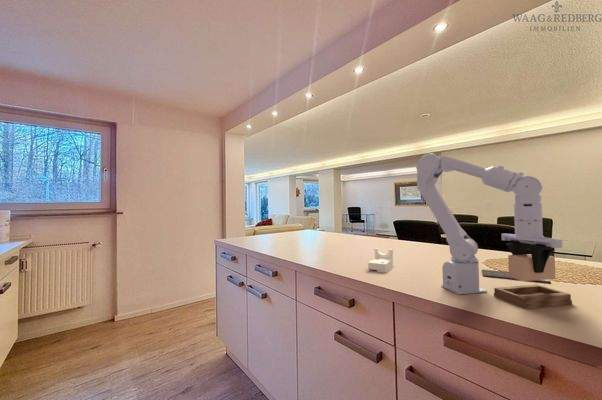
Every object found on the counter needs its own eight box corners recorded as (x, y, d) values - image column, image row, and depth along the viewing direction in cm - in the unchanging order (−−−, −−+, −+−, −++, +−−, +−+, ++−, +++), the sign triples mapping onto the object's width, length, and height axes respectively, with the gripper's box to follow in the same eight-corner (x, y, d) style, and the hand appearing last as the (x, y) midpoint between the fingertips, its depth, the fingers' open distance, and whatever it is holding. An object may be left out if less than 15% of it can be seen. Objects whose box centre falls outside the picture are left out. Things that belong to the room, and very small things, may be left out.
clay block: (523, 281, 68) (522, 258, 68) (508, 276, 72) (508, 255, 72) (555, 279, 69) (554, 256, 69) (539, 275, 73) (538, 253, 73)
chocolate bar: (481, 269, 101) (543, 275, 91) (481, 271, 101) (543, 278, 91) (482, 275, 93) (550, 282, 83) (482, 277, 93) (551, 285, 83)
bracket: (376, 264, 116) (376, 247, 116) (393, 266, 113) (392, 248, 113) (368, 271, 105) (367, 252, 105) (386, 273, 101) (385, 254, 101)
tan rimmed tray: (525, 308, 65) (525, 298, 65) (493, 296, 74) (493, 287, 74) (572, 304, 67) (571, 294, 67) (535, 292, 76) (535, 284, 76)
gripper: (571, 221, 64) (573, 276, 64) (515, 218, 78) (516, 263, 78) (547, 222, 63) (549, 278, 63) (494, 219, 77) (496, 264, 77)
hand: (530, 270), depth 70 cm, fingers closed on clay block, 4 cm apart
